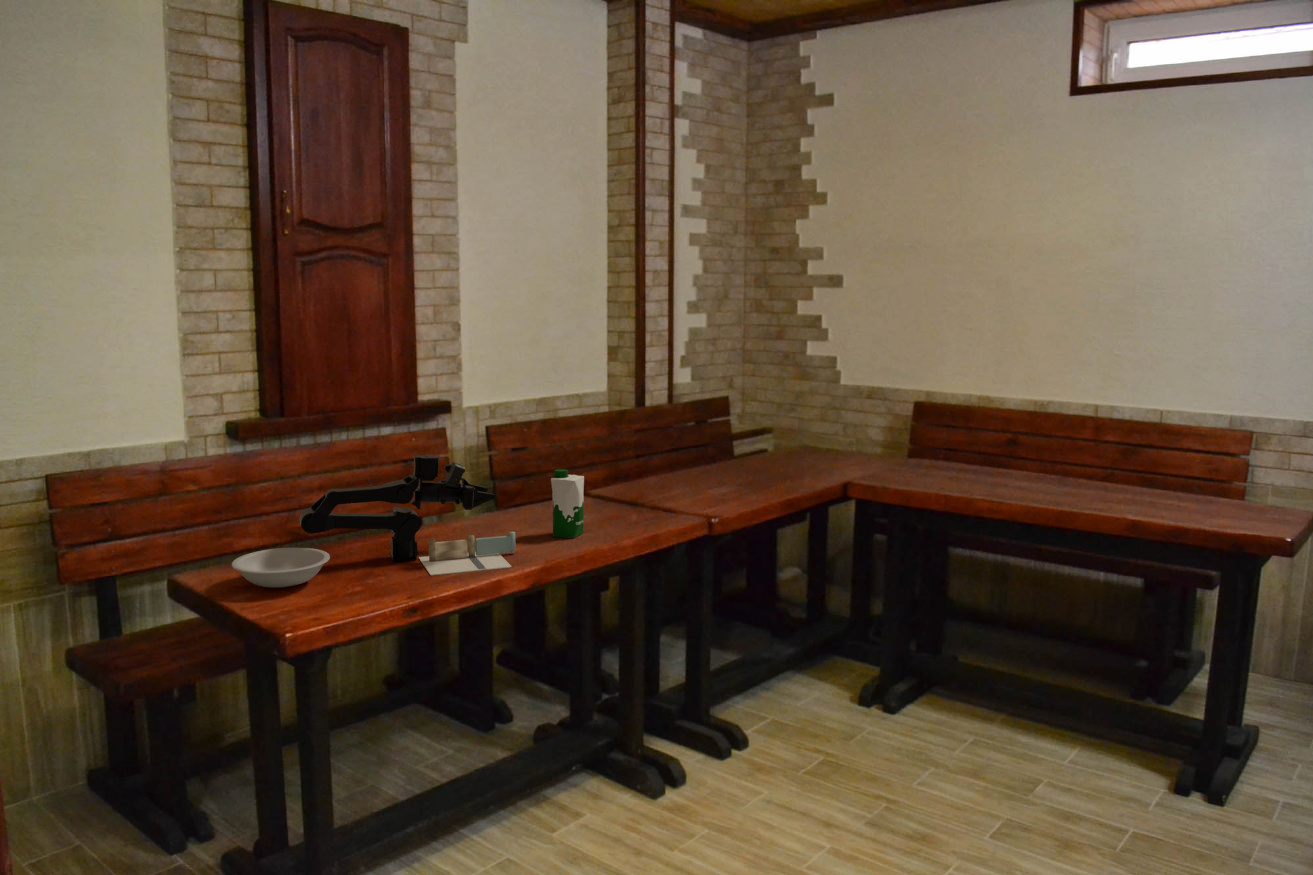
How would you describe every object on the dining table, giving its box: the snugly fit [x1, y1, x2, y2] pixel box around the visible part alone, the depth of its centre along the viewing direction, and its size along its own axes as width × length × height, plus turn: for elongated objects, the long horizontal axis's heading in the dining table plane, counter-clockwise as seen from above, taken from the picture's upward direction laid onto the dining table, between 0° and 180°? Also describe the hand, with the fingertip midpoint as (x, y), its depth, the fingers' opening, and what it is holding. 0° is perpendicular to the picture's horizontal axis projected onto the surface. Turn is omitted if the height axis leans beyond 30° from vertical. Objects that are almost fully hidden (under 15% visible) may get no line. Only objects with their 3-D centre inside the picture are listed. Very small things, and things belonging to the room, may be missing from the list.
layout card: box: [418, 551, 512, 577], centre depth 308 cm, size 22×18×1 cm
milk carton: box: [550, 468, 585, 539], centre depth 337 cm, size 9×9×20 cm
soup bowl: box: [231, 547, 331, 588], centre depth 287 cm, size 24×24×7 cm
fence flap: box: [475, 531, 517, 555], centre depth 315 cm, size 11×2×6 cm, turn 112°
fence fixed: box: [428, 534, 476, 561], centre depth 310 cm, size 13×2×6 cm, turn 112°
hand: (491, 493), depth 318 cm, fingers open, 9 cm apart
